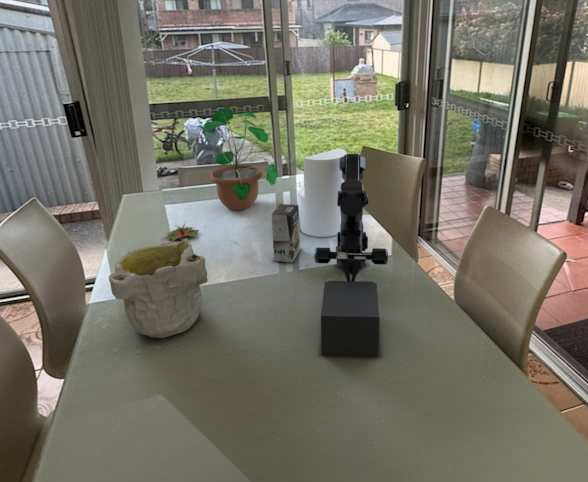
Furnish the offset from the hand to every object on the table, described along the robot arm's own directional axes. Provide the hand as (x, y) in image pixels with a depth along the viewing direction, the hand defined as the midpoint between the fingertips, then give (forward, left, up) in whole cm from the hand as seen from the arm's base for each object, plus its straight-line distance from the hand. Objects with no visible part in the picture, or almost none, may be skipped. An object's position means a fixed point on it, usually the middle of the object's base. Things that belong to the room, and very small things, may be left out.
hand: (350, 289), depth 110 cm
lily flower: (+3, -74, -7) cm, 74 cm away
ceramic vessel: (+31, -35, -7) cm, 47 cm away
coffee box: (-11, -35, -7) cm, 37 cm away
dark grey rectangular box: (+7, +6, -7) cm, 12 cm away
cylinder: (-35, -40, -7) cm, 54 cm away
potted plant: (-31, -81, -7) cm, 87 cm away
